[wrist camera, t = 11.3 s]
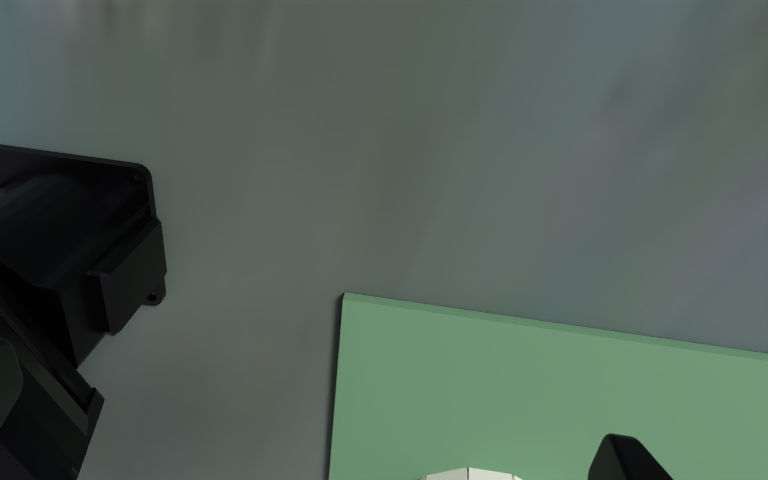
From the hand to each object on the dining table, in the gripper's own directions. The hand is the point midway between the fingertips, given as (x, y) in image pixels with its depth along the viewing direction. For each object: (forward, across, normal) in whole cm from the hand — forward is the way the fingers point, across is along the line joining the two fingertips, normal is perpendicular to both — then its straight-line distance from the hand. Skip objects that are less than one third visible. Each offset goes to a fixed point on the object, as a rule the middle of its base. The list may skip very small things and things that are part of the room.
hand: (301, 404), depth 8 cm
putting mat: (+13, -10, +17) cm, 24 cm away
